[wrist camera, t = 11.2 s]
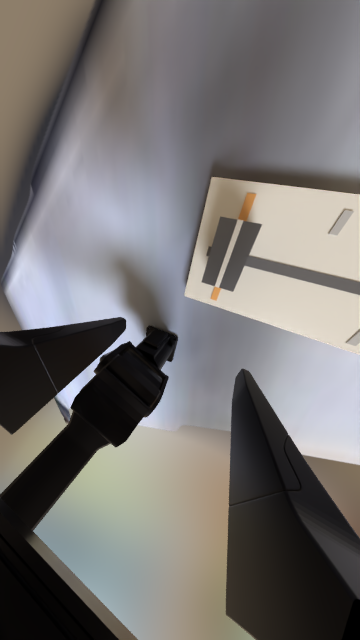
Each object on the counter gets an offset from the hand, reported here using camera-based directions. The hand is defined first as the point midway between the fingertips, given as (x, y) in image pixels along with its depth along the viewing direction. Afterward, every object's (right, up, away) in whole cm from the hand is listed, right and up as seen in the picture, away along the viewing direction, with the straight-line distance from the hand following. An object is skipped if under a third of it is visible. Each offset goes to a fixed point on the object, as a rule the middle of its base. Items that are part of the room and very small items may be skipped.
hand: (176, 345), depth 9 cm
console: (+13, +7, +5) cm, 16 cm away
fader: (+5, +9, +5) cm, 11 cm away
